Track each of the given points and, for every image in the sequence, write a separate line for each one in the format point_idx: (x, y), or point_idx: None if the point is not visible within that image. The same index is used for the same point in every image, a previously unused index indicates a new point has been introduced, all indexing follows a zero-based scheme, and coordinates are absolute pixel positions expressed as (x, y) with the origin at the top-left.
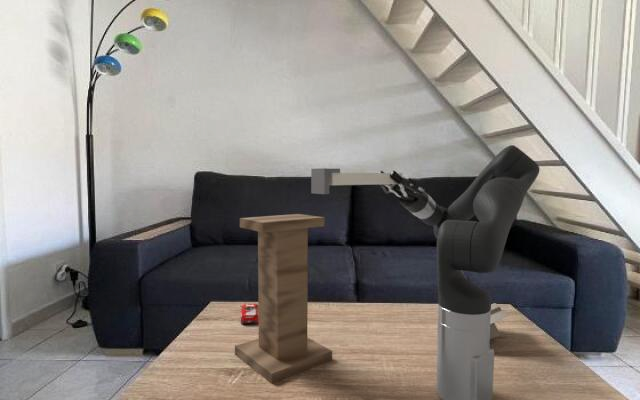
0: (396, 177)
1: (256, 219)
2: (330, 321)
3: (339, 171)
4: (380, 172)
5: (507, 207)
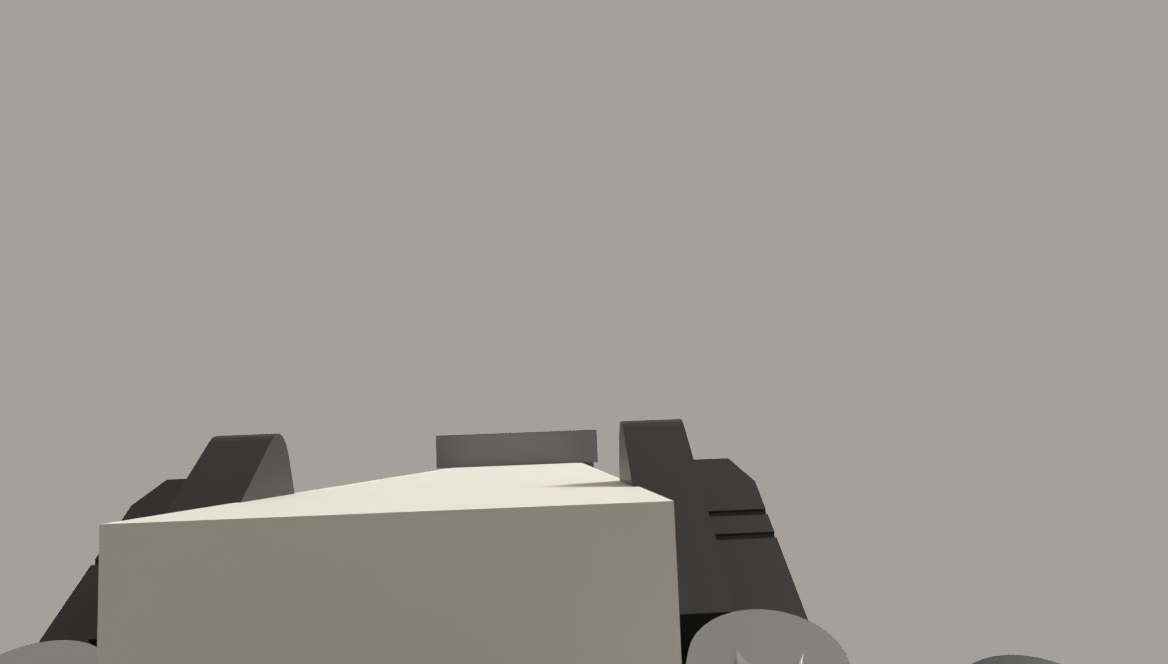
0: None
1: None
2: None
3: (437, 457)
4: (621, 462)
5: None
